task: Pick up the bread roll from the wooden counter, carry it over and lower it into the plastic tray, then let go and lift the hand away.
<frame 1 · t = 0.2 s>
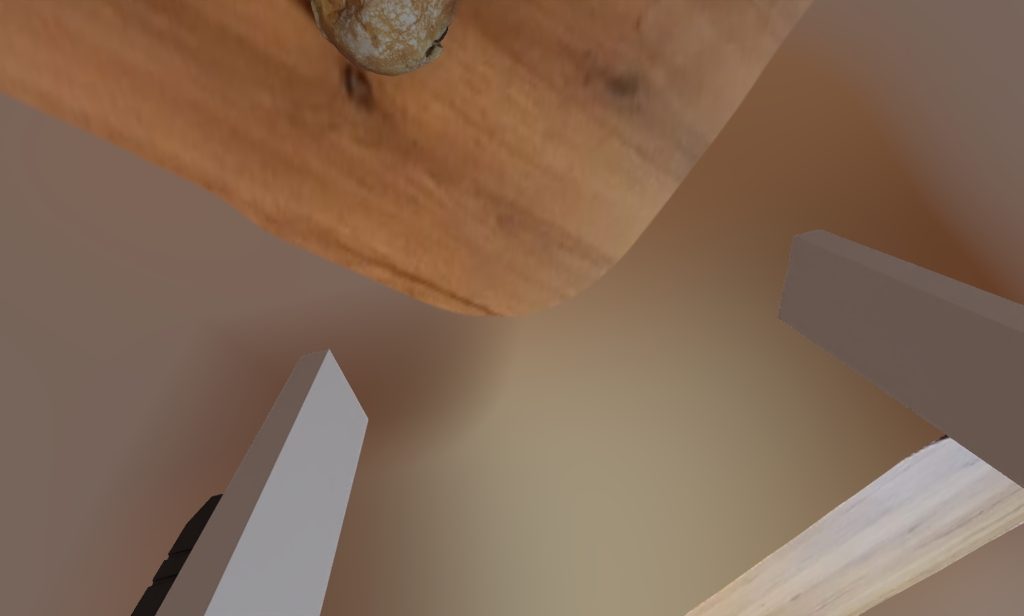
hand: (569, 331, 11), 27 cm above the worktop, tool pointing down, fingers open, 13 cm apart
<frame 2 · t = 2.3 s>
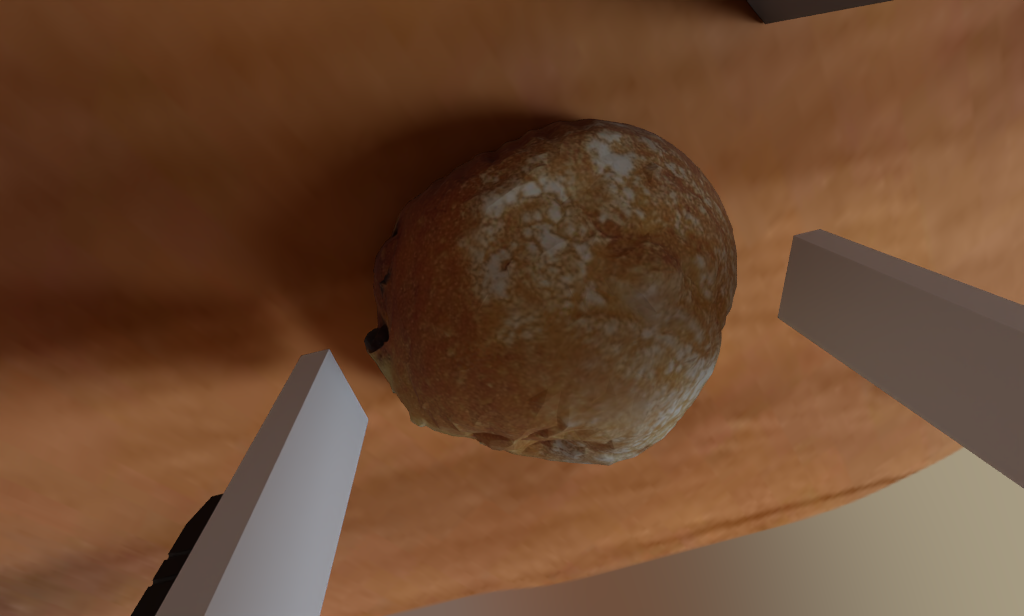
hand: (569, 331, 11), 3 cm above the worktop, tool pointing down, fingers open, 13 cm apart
bread roll: (532, 280, 13), on the worktop
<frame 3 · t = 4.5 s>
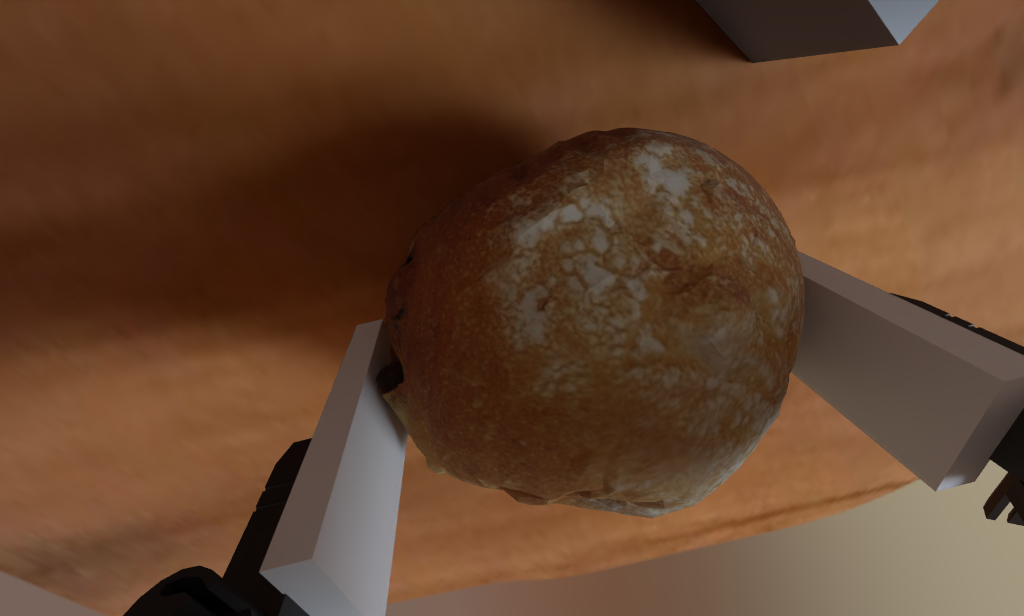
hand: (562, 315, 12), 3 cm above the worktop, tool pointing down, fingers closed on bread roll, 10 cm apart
bread roll: (557, 303, 12), point 2 cm above the worktop, touching gripper
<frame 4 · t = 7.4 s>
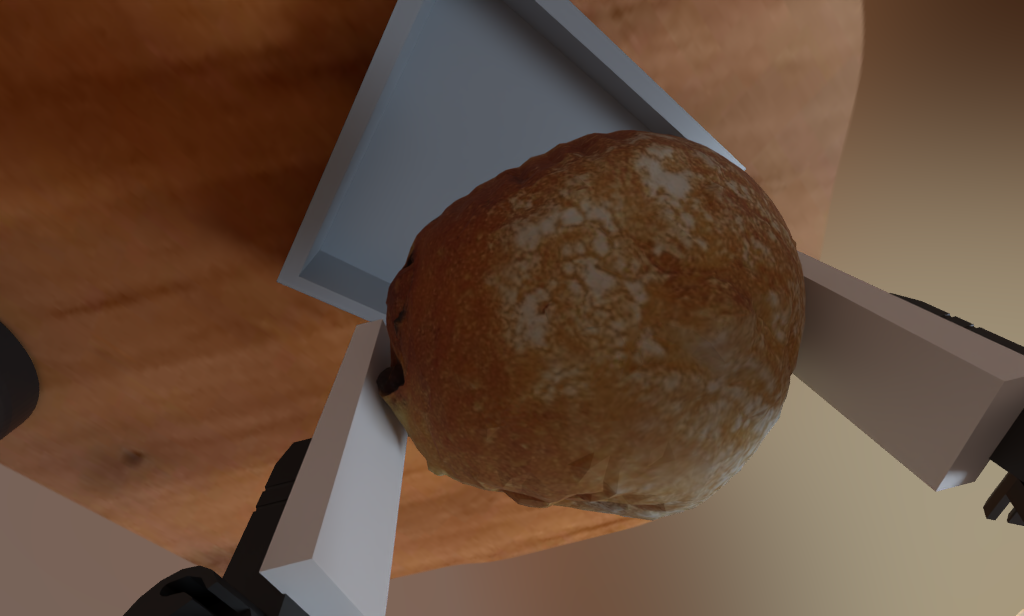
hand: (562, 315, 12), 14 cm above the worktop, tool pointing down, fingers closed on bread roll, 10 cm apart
bread roll: (557, 304, 12), point 13 cm above the worktop, touching gripper
bread tray: (504, 202, 24), on the worktop
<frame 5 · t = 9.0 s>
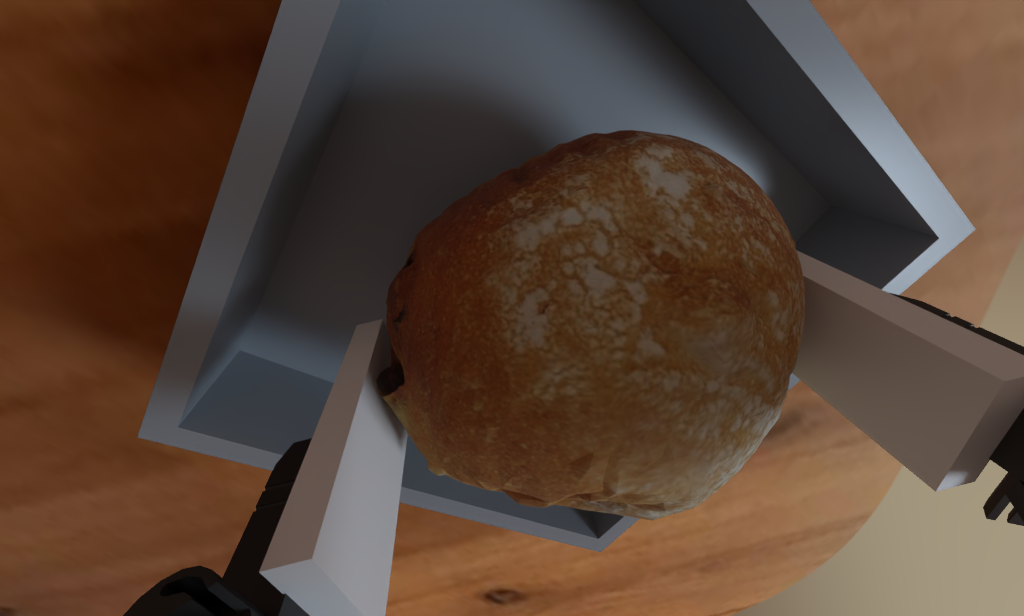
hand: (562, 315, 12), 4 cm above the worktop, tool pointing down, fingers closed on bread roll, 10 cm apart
bread roll: (557, 304, 12), point 3 cm above the worktop, touching gripper
bread tray: (537, 267, 15), on the worktop
when the fingers open (3 cm above the worktop, at t = 10.1 s): bread roll drops 2 cm, resting on bread tray.
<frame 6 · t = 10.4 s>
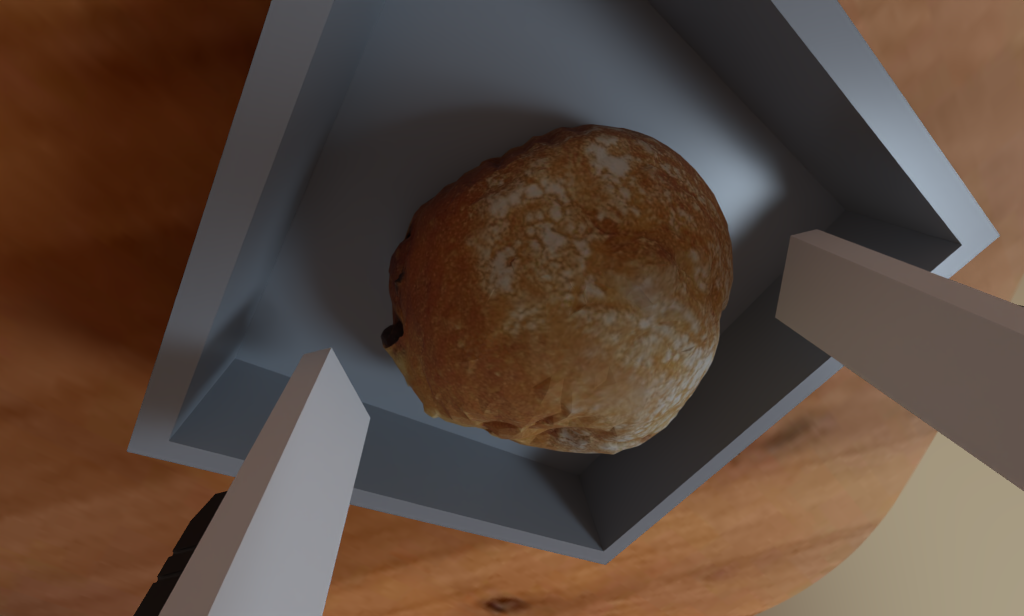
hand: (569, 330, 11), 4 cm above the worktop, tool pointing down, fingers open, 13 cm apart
bread roll: (538, 279, 14), point 1 cm above the worktop, touching bread tray
bread tray: (541, 273, 14), on the worktop
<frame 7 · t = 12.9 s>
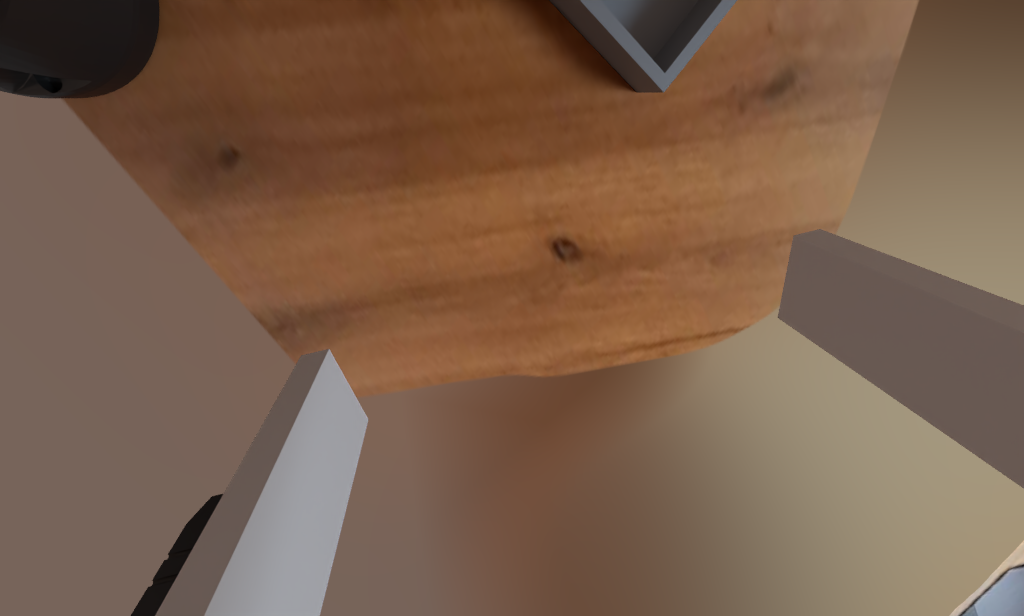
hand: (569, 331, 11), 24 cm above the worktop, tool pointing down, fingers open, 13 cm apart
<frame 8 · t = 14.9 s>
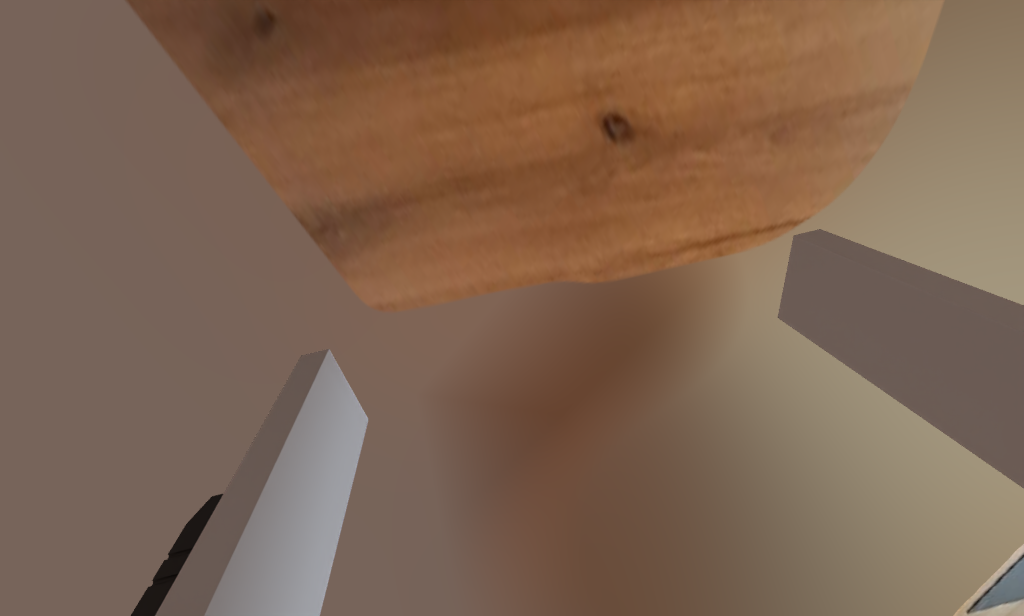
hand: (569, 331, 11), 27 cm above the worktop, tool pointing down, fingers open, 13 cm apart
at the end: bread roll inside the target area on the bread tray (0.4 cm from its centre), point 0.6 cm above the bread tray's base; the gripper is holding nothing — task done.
